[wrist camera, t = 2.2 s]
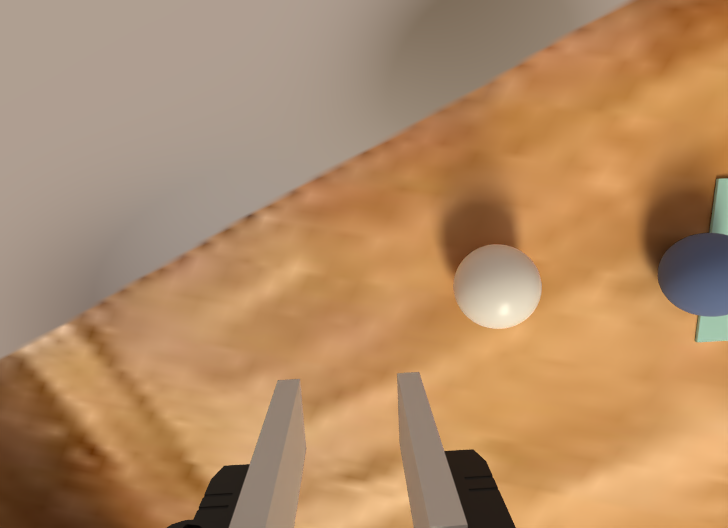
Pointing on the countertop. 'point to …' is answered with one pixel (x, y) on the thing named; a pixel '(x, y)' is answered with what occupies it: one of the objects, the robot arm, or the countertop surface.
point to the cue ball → (497, 286)
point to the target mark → (723, 221)
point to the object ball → (697, 274)
